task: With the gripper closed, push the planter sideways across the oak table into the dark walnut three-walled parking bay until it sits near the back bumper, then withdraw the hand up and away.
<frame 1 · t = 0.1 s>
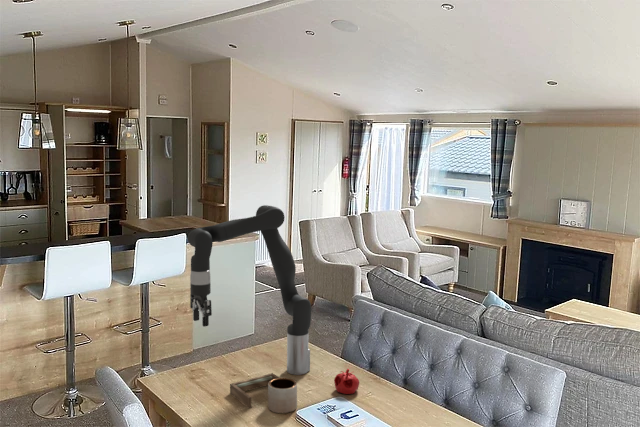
hand: (200, 323, 217), 29 cm above the table, fingers open, 8 cm apart
bay: (262, 395, 222), on the table
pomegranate: (346, 391, 227), on the table
planter: (282, 408, 212), on the table
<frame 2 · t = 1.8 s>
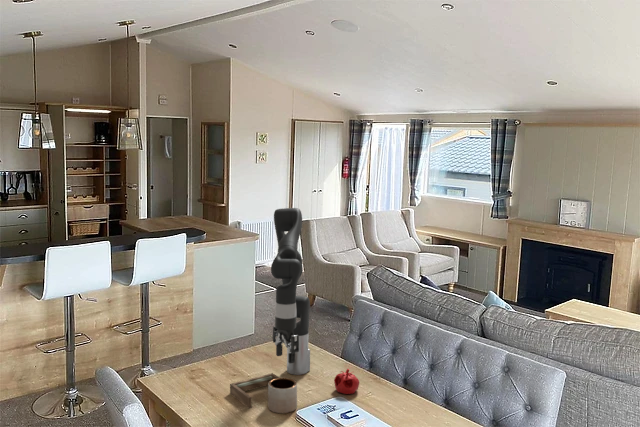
hand: (285, 359, 202), 22 cm above the table, fingers open, 8 cm apart
nothing on the table moved.
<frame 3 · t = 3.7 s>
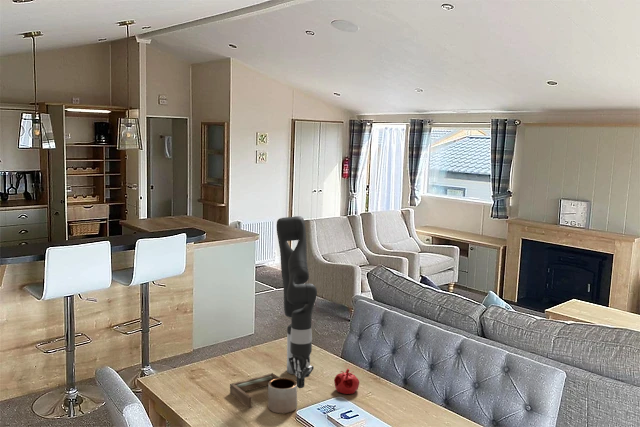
hand: (300, 387, 201), 12 cm above the table, fingers closed
nothing on the table moved.
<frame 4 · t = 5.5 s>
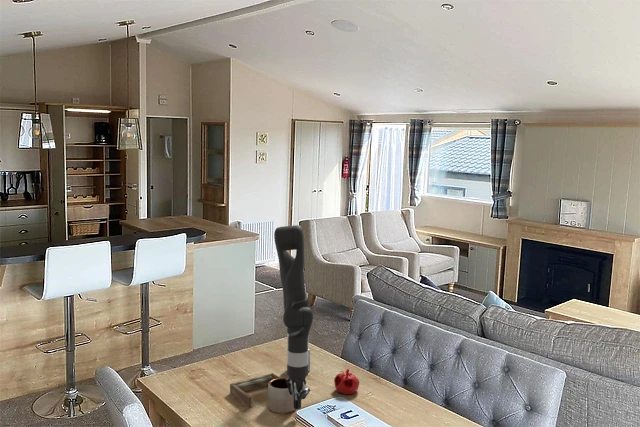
hand: (297, 408, 204), 3 cm above the table, fingers closed
nothing on the table moved.
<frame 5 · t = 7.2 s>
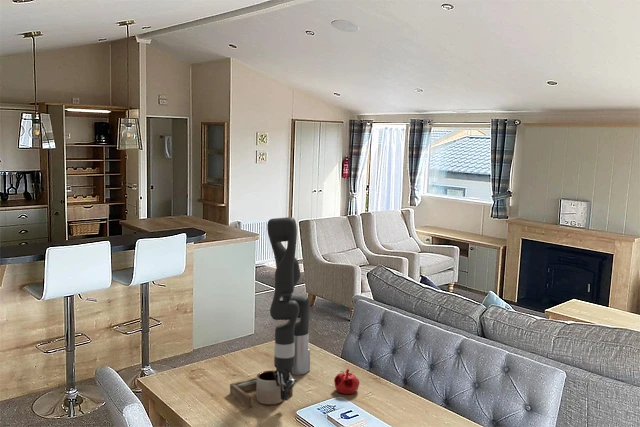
hand: (284, 399, 210), 4 cm above the table, fingers closed
planter: (270, 400, 218), on the table, touching hand
everything else where it was.
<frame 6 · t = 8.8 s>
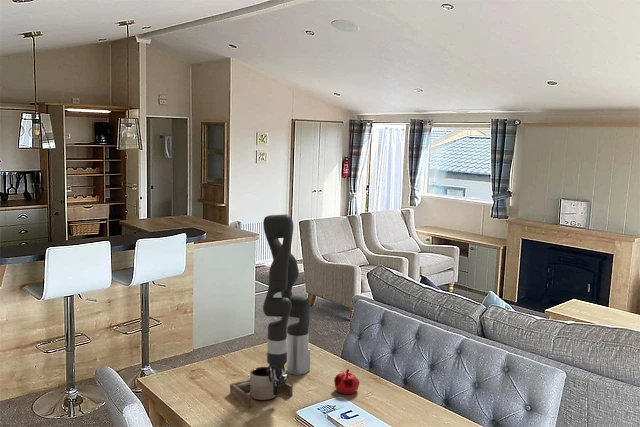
hand: (276, 394, 214), 4 cm above the table, fingers closed
planter: (264, 395, 222), on the table, touching hand
everything else where it was.
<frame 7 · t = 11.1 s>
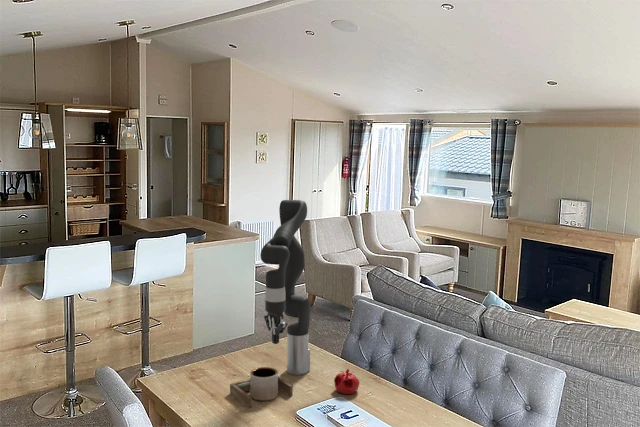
hand: (275, 343, 213), 24 cm above the table, fingers closed
planter: (264, 396, 222), on the table
everything else where it was.
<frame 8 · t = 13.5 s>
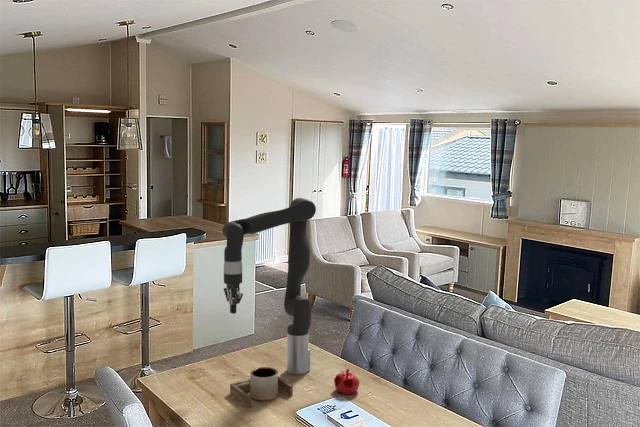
hand: (233, 312, 232), 29 cm above the table, fingers closed
nothing on the table moved.
at the end: planter inside the target area (0.9 cm from its centre), on the table; planter tilted 0° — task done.
